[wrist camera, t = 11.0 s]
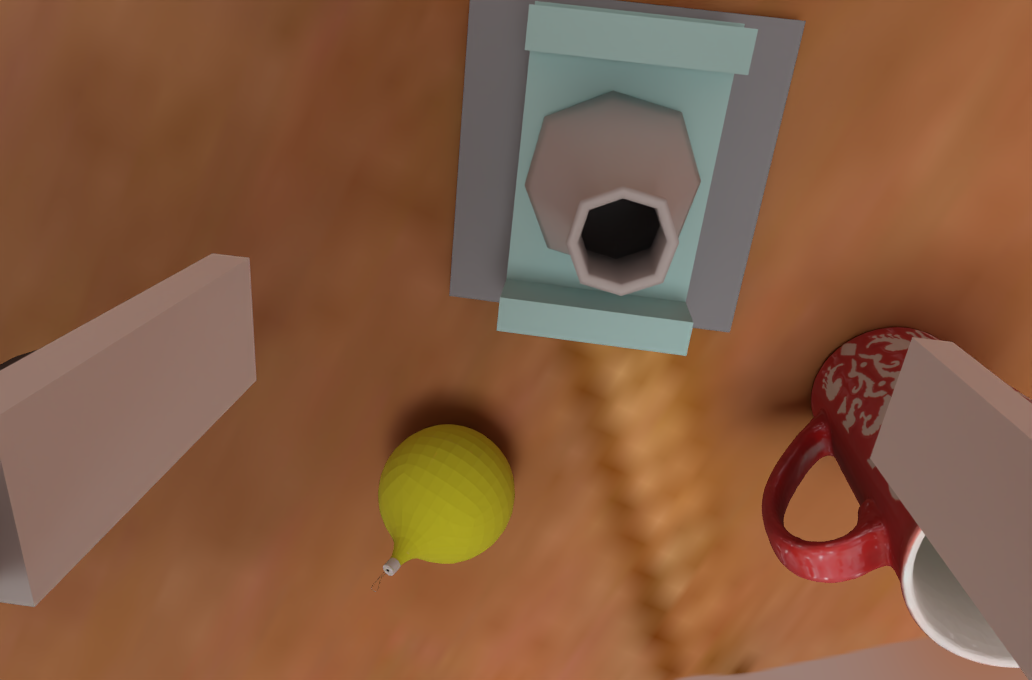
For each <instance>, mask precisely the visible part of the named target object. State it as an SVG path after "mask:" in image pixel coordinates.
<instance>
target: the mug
mask: <svg viewBox="0 0 1032 680" xmlns="http://www.w3.org/2000/svg"><path fill="white" fill-rule="evenodd" d="M912 337H916V338H924V339H932V340H940V339H938V338H936V337H935V336H932V335H931V334H928V333H926V332H923V331H919V330H915V329H911V328H903V327H893V328H885V329H877V330H874V331H870V332H867V333H864V334H862V335H860V336H857V337H855V338H853V339H852V340H850V341H848V342H846V343H845V344H844V345H842V346H841V347H840V348H838V349H837V350H836V351H835V352H834V353H833V354H832V355H831V356H830V357H829V358H828V359H827V360H826V361H825V363H824V364H823V366H822V367H821V369H820V371H819V372H818V374H817V376H816V378H815V381H814V385H813V389H812V395H811V407H812V412H813V416H814V418H813V419H812V420H811V421H810V423H809V424H808V425H807V426H806V427H805V428H804V429H803V430H802V431H801V432H800V433H799V434H798V435H797V436H796V438H795V439H794V440H793V442H792V443H791V444H790V445H789V447H788V448H787V449H786V451H785V452H784V453H783V455H782V456H781V458H780V459H779V461H778V462H777V464H776V466H775V467H774V469H773V471H772V473H771V475H770V477H769V479H768V481H767V484H766V486H765V489H764V493H763V499H762V516H763V521H764V526H765V530H766V533H767V535H768V538H769V541H770V544H771V546H772V548H773V550H774V552H775V554H776V556H777V557H778V559H779V560H780V562H781V563H782V564H783V565H784V566H785V567H786V568H787V569H789V570H790V571H791V572H793V573H794V574H796V575H797V576H799V577H802V578H805V579H807V580H812V581H816V582H825V583H836V582H843V581H847V580H851V579H855V578H858V577H860V576H862V575H864V574H866V573H868V572H870V571H872V570H874V569H877V568H879V567H883V566H886V565H887V566H891V567H892V568H893V569H894V570H895V572H896V574H897V576H898V578H899V580H900V583H901V589H902V595H903V598H904V600H905V603H906V606H907V608H908V610H909V612H910V614H911V616H912V617H913V619H914V621H915V622H916V623H917V624H918V626H919V627H920V628H921V629H922V630H923V631H924V632H925V634H926V635H927V636H929V637H930V638H931V639H932V640H934V641H935V642H936V643H937V644H938V645H939V646H941V647H943V648H945V649H946V650H948V651H950V652H952V653H954V654H956V655H958V656H961V657H963V658H965V659H968V660H971V661H975V662H978V663H981V664H986V665H992V666H1000V667H1013V668H1020V667H1019V666H1018V664H1017V663H1016V661H1015V660H1014V659H1013V657H1012V656H1011V654H1010V653H1009V652H1008V650H1007V649H1006V647H1005V646H1004V645H1003V643H1002V642H1001V640H1000V639H999V638H998V636H997V635H996V633H995V632H994V631H993V629H992V628H991V626H990V625H989V624H988V622H987V621H986V619H985V618H984V617H983V615H982V614H981V612H980V611H979V610H978V608H977V607H976V605H975V604H974V603H973V601H972V600H971V598H970V597H969V596H968V594H967V593H966V591H965V590H964V589H963V587H962V586H961V584H960V583H959V582H958V580H957V579H956V577H955V576H954V575H953V573H952V572H951V571H950V569H949V568H948V566H947V565H946V564H945V562H944V561H943V559H942V558H941V557H940V555H939V554H938V552H937V551H936V550H935V548H934V547H933V545H932V544H931V543H930V541H929V540H928V538H927V537H926V536H925V534H924V533H923V531H922V530H921V529H920V527H919V526H918V524H917V523H916V522H915V520H914V519H913V517H912V516H911V515H910V513H909V512H908V510H907V509H906V508H905V506H904V505H903V503H902V502H901V501H900V499H899V498H898V496H897V495H896V494H895V492H894V491H893V489H892V488H891V487H890V485H889V484H888V482H887V481H886V480H885V478H884V477H883V475H882V474H881V473H880V471H879V470H878V468H877V467H876V466H875V464H874V463H873V462H872V460H871V459H870V457H871V454H872V451H873V448H874V445H875V442H876V440H877V437H878V434H879V431H880V428H881V425H882V422H883V420H884V417H885V414H886V411H887V408H888V405H889V402H890V400H891V397H892V394H893V391H894V388H895V385H896V382H897V380H898V377H899V374H900V371H901V368H902V365H903V362H904V360H905V357H906V354H907V351H908V348H909V345H910V342H911V340H912ZM1007 385H1008V384H1007ZM1010 387H1011V386H1010ZM1011 388H1012V389H1014V388H1013V387H1011ZM1014 390H1015V391H1016V392H1018V393H1019V394H1020V395H1021V396H1023V397H1024V398H1025V399H1027V400H1028V401H1029V402H1030V403H1032V400H1031V399H1030V398H1028V397H1026V396H1025V395H1023V394H1022V393H1020V392H1019V391H1017V390H1016V389H1014ZM827 455H831V456H834V457H835V458H836V460H837V462H838V464H839V466H840V468H841V470H842V472H843V474H844V476H845V478H846V480H847V482H848V484H849V485H850V487H851V489H852V491H853V493H854V495H855V497H856V499H857V501H858V502H859V504H860V507H859V510H858V523H857V525H856V526H855V528H854V529H853V530H852V531H850V532H849V533H848V534H847V535H845V536H843V537H840V538H837V539H835V540H830V541H825V542H811V541H805V540H802V539H800V538H798V537H795V536H793V535H792V534H790V533H789V532H788V531H787V530H786V529H785V527H784V522H783V520H784V514H785V511H786V508H787V506H788V503H789V501H790V499H791V497H792V496H793V494H794V492H795V490H796V489H797V487H798V485H799V484H800V482H801V481H802V479H803V478H804V476H805V475H806V473H807V472H808V470H809V469H810V468H811V467H812V466H813V465H814V464H815V463H816V462H817V461H818V460H819V459H820V458H822V457H824V456H827Z"/></svg>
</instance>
